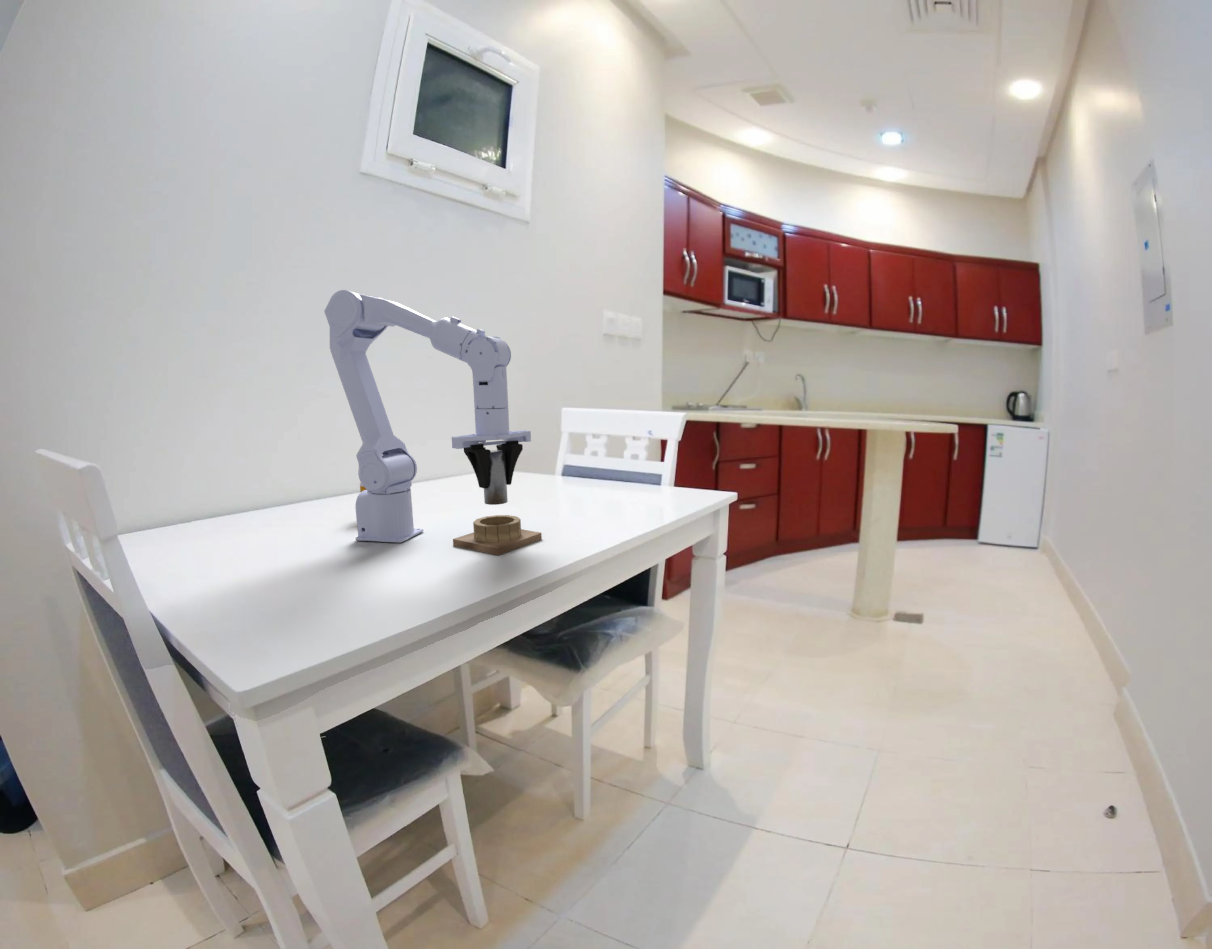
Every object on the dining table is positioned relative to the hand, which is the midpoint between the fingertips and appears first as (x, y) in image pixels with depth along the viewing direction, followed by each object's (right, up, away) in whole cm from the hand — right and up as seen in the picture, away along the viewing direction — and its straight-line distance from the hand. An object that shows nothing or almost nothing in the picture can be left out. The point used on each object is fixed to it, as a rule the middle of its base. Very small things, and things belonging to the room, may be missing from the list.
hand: (495, 485), depth 99 cm
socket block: (0, -10, +2) cm, 10 cm away
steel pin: (0, -3, +1) cm, 3 cm away
